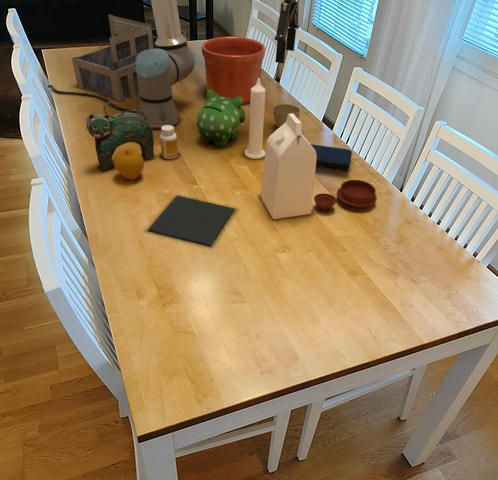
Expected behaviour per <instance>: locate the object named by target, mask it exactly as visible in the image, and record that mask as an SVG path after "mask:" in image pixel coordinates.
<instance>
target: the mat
mask: <svg viewBox="0 0 498 480" xmlns="http://www.w3.org/2000/svg"><path fill="white" fill-rule="evenodd" d="M234 211H235V208H234V207H230V206H226V205H220V204H217V203H212V202H208V201H202V200H198V199H194V198H189V197H186V196H181V195H176V196H175V197H174V199H172V201H171V202H170V203H169V205H168V206H167V207H166V208H165V209H163V211H162V213H161V214H160V215H159V216H158V217H157V218H156V220H155V221H154V222H153V223H152V224H151V225H150V227H149V228H148V229H147V231H148V232H150V233H155V234H159V235H163V236H168V237H171V238H175V239H179V240H183V241H188V242H191V243H195V244H199V245H204V246H207V247H211V246H212V245H213V243H214V242H215V240H216V239H217V237H218V236H219V234H220V232H221V231H222V230H223V228H224V227H225V225H226V223H227V222H228V220H229V219H230V217H231V216H232V215H233V212H234Z"/></svg>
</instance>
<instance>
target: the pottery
mask: <svg viewBox="0 0 498 480" xmlns="http://www.w3.org/2000/svg"><path fill="white" fill-rule="evenodd" d="M376 192H377V190H376V187H375V186H374V185H373V184H371V183H370V182H367V181H365V180H361V179H349V180H345V181H343V182H342V183H341V184H340V187H339V188H338V189H337V190H336V197H337V198H338V199H339V201H341V202H342V203H344V204H346V205H348V206H351V207H354V208H363V207H364V208H366V207H370V206H372V205H374V204H375V203H376V202H377V199H378V197H377V194H376ZM336 197H335V196H334V195H332V194H329V193H325V192H324V193H318V194H315V196H313V201H314V203H315V204H316V206H317V207H318V210H319V211H321V212H327V211H329V209H330V208H332V207H333V206H334V205H335V204H336V203H337V198H336Z"/></svg>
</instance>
